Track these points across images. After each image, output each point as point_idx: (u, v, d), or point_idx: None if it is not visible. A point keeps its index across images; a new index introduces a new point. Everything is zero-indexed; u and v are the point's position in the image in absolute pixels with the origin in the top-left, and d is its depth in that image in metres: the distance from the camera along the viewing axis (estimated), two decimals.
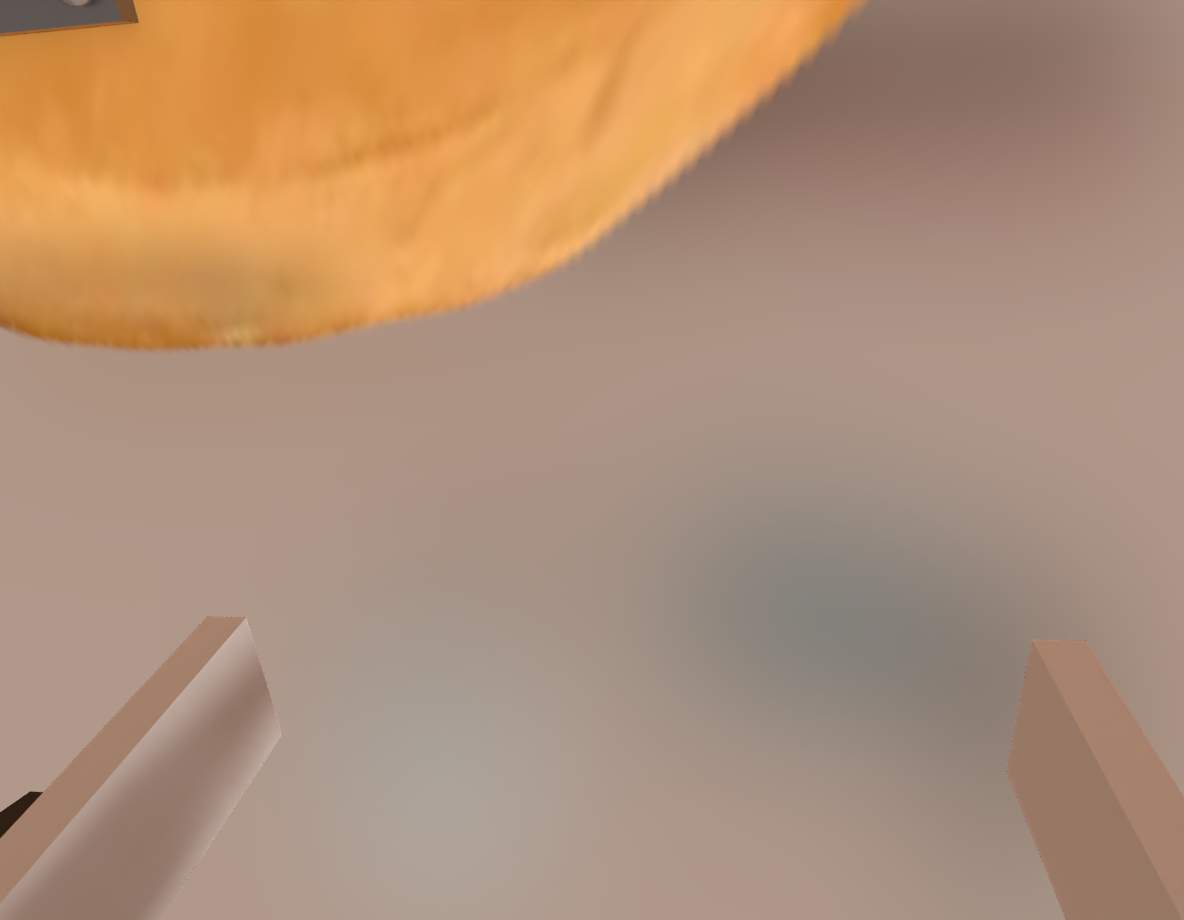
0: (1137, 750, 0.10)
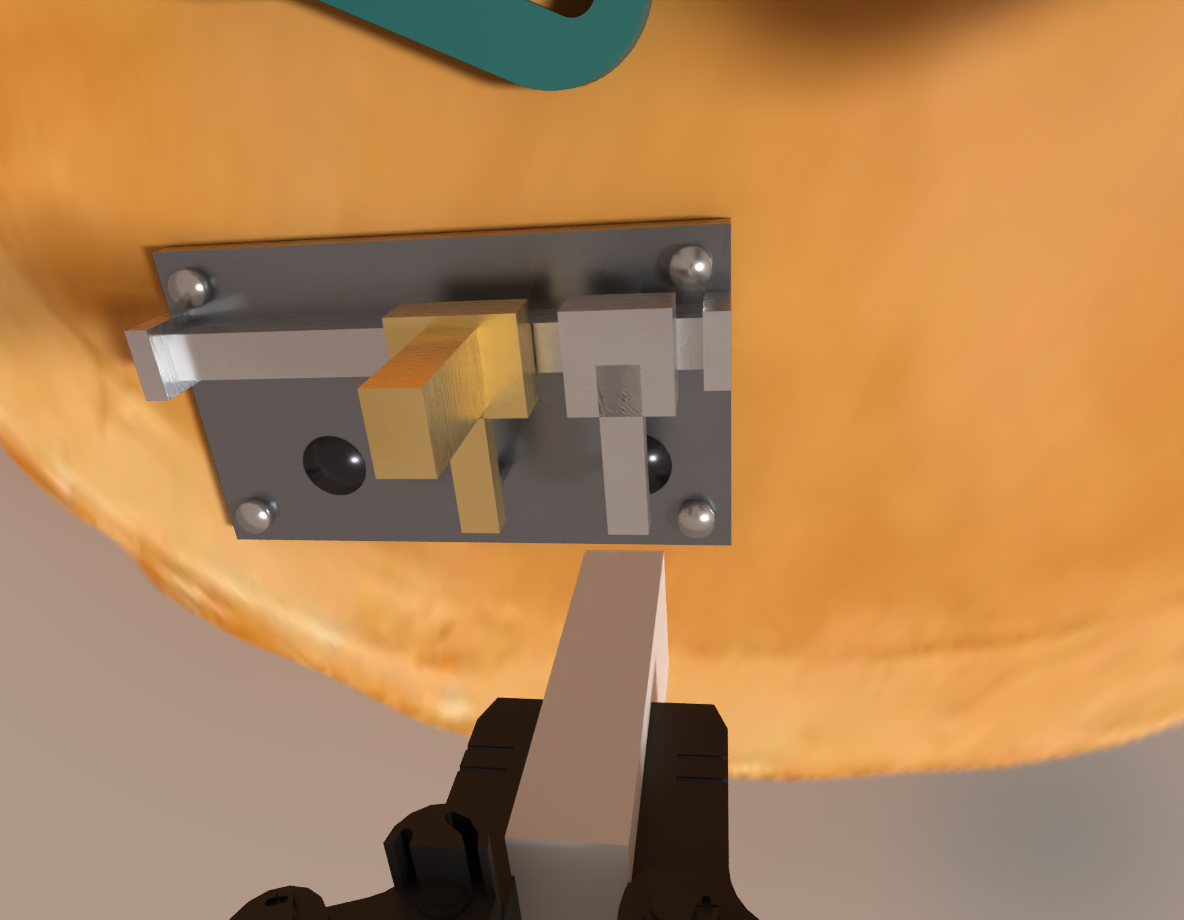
0: (642, 622, 0.13)
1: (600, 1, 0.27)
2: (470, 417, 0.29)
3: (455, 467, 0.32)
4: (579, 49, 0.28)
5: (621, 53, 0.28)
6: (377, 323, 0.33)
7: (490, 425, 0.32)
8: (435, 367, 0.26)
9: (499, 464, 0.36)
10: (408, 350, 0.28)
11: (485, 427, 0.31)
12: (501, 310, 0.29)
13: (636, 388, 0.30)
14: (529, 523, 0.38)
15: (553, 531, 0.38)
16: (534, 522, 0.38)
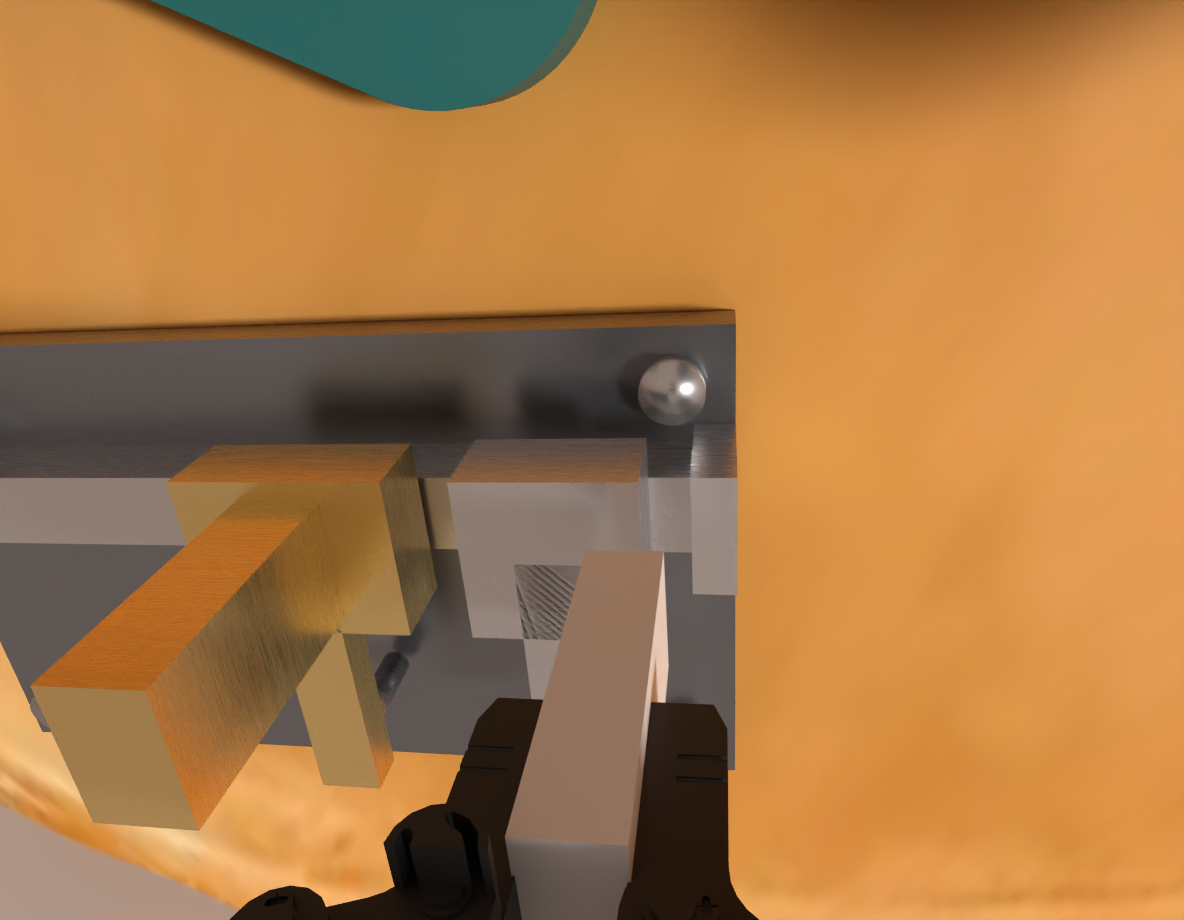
0: (642, 622, 0.13)
1: None
2: (302, 659, 0.17)
3: (304, 698, 0.20)
4: (480, 42, 0.17)
5: (551, 49, 0.16)
6: None
7: (357, 635, 0.20)
8: (202, 618, 0.14)
9: (392, 658, 0.24)
10: (183, 560, 0.16)
11: (345, 644, 0.20)
12: (359, 474, 0.18)
13: None
14: (443, 729, 0.26)
15: None
16: (450, 728, 0.26)
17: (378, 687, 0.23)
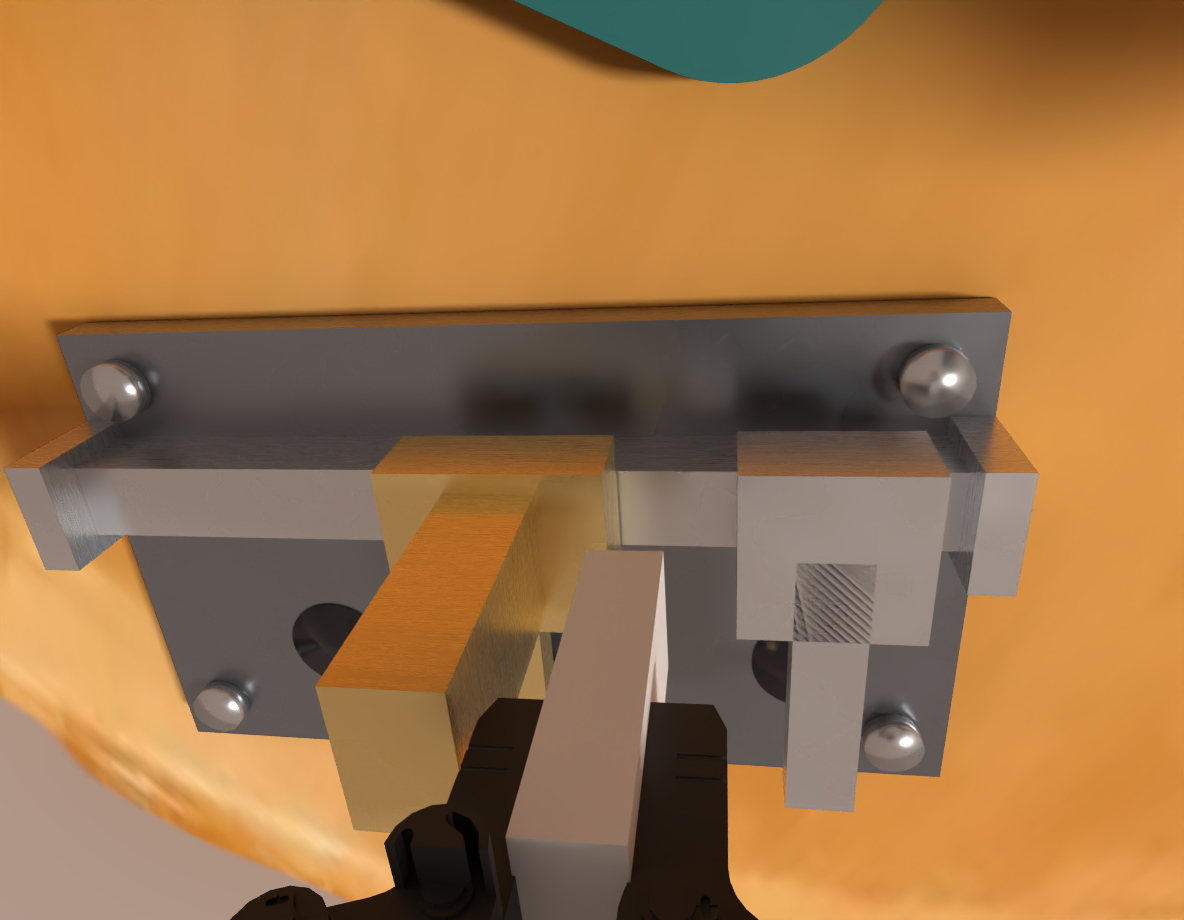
0: (642, 622, 0.13)
1: None
2: (523, 658, 0.16)
3: None
4: (788, 9, 0.16)
5: (864, 18, 0.16)
6: None
7: (547, 634, 0.20)
8: (468, 617, 0.13)
9: None
10: (416, 554, 0.15)
11: (540, 643, 0.19)
12: (575, 466, 0.17)
13: (865, 602, 0.17)
14: None
15: None
16: None
17: None
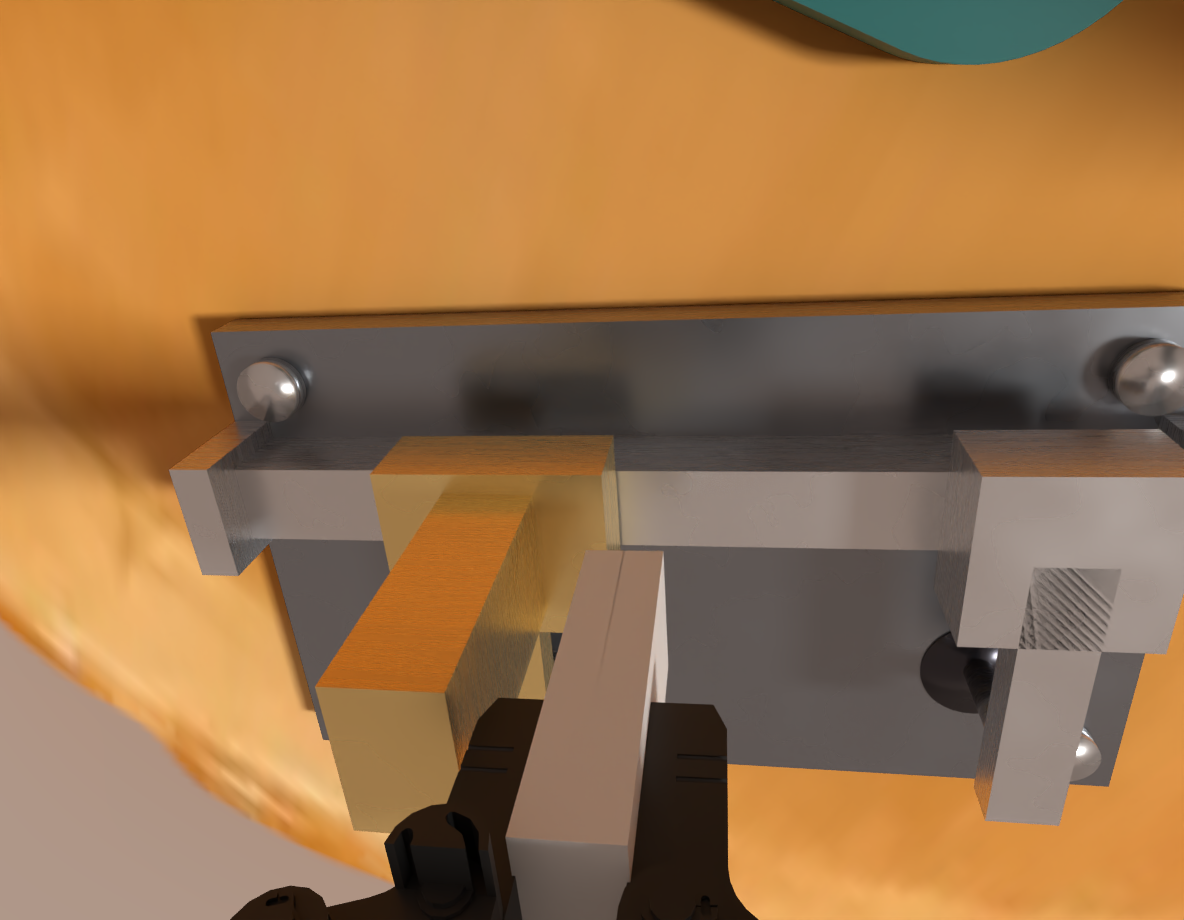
0: (642, 622, 0.13)
1: None
2: (523, 659, 0.16)
3: None
4: None
5: None
6: None
7: (547, 634, 0.20)
8: (468, 617, 0.13)
9: None
10: (416, 555, 0.15)
11: (540, 643, 0.19)
12: (575, 466, 0.17)
13: (1102, 608, 0.16)
14: (782, 741, 0.24)
15: (819, 753, 0.24)
16: (790, 740, 0.24)
17: None
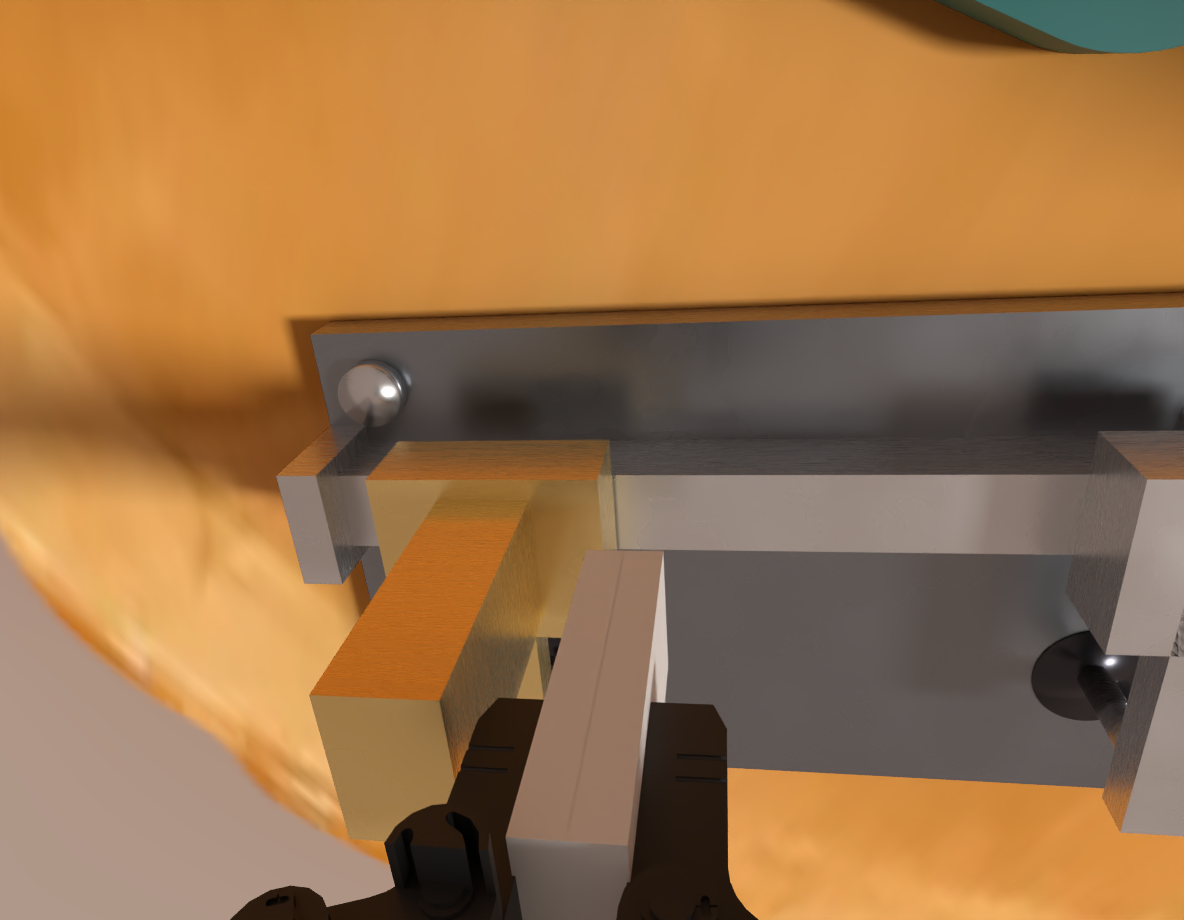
0: (641, 622, 0.13)
1: None
2: (520, 665, 0.16)
3: None
4: None
5: None
6: (708, 462, 0.19)
7: (543, 639, 0.19)
8: (464, 624, 0.13)
9: None
10: (411, 561, 0.15)
11: (537, 648, 0.19)
12: (571, 471, 0.17)
13: None
14: (883, 749, 0.24)
15: (921, 762, 0.24)
16: (892, 748, 0.24)
17: None
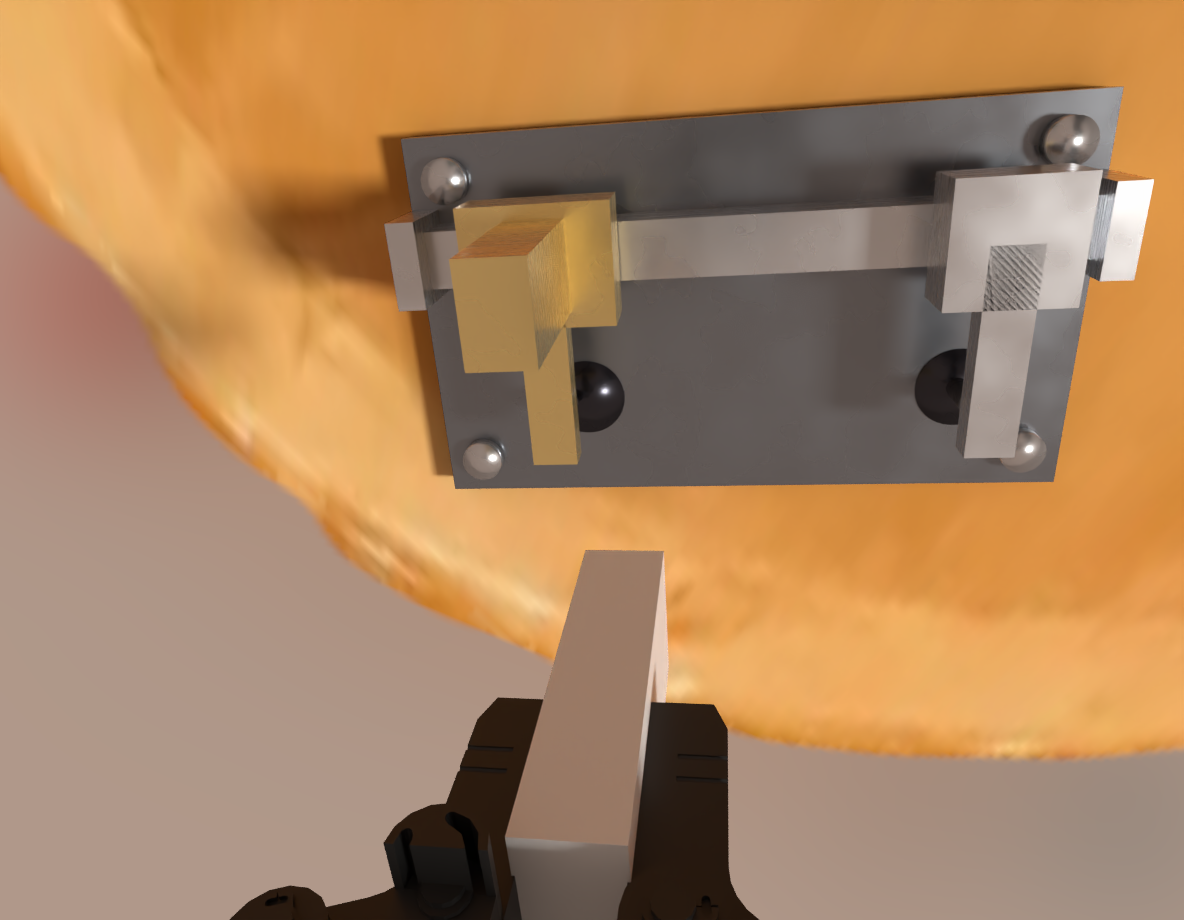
0: (642, 622, 0.13)
1: None
2: (560, 317, 0.25)
3: (530, 387, 0.28)
4: None
5: None
6: (682, 215, 0.28)
7: (570, 339, 0.28)
8: (533, 243, 0.22)
9: None
10: (493, 234, 0.24)
11: (567, 337, 0.27)
12: (591, 198, 0.26)
13: (1036, 274, 0.25)
14: (813, 461, 0.33)
15: (841, 470, 0.33)
16: (819, 460, 0.33)
17: None
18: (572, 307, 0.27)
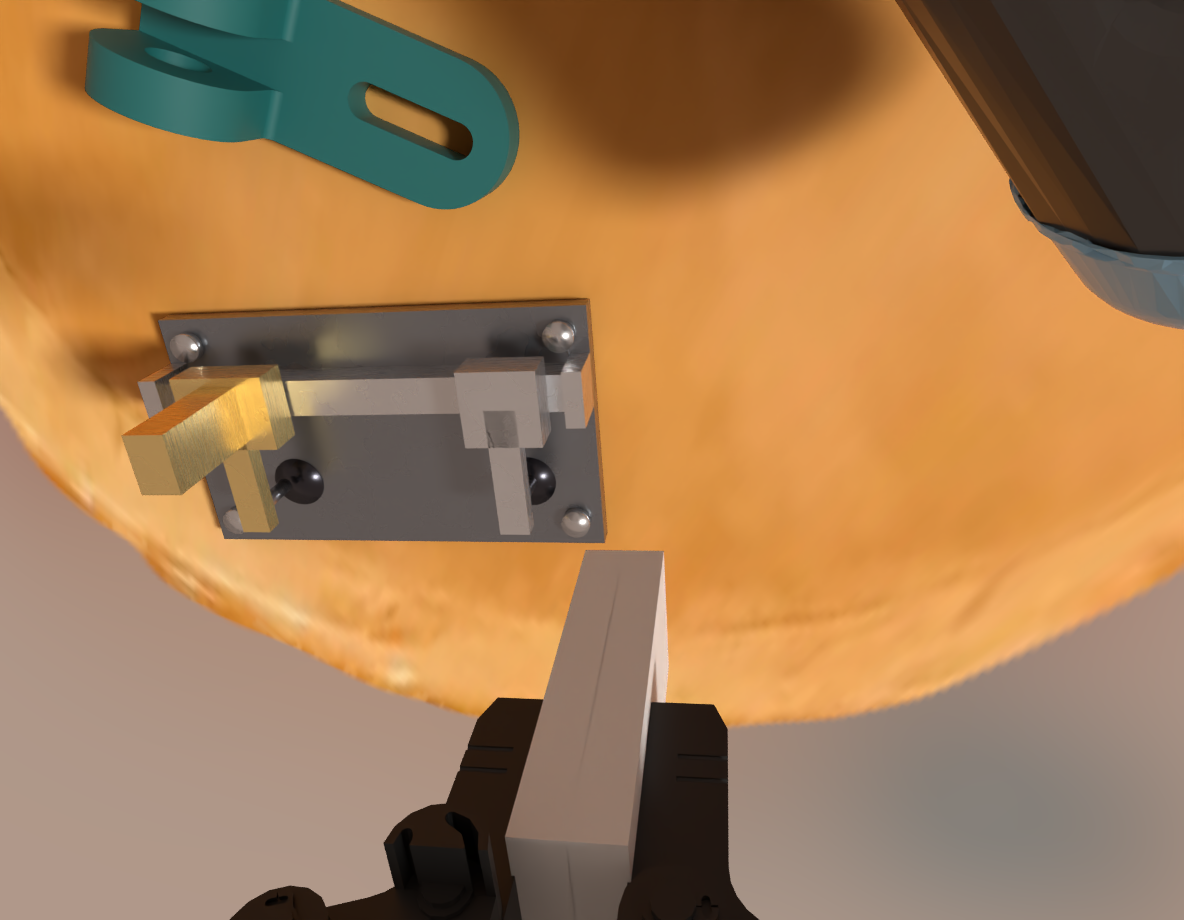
0: (642, 622, 0.13)
1: (476, 150, 0.38)
2: (225, 450, 0.41)
3: (232, 484, 0.44)
4: (463, 181, 0.39)
5: (493, 185, 0.39)
6: (328, 375, 0.44)
7: (256, 454, 0.44)
8: (182, 419, 0.38)
9: (282, 481, 0.48)
10: (175, 405, 0.40)
11: (249, 456, 0.43)
12: (251, 375, 0.42)
13: (513, 427, 0.40)
14: (450, 526, 0.48)
15: (469, 532, 0.48)
16: (454, 525, 0.48)
17: (272, 491, 0.47)
18: (249, 438, 0.43)
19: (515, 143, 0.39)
